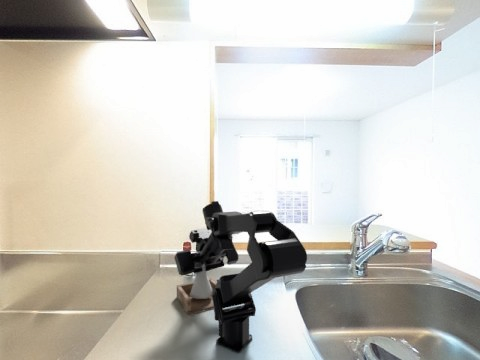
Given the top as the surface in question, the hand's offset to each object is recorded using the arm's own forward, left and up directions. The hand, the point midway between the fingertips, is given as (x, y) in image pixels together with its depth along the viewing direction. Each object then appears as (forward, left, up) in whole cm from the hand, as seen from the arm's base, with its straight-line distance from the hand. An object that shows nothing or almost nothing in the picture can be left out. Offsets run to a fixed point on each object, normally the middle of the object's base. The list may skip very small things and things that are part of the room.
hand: (199, 271), depth 81 cm
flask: (-1, +1, -7) cm, 7 cm away
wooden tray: (-1, 0, -9) cm, 9 cm away
